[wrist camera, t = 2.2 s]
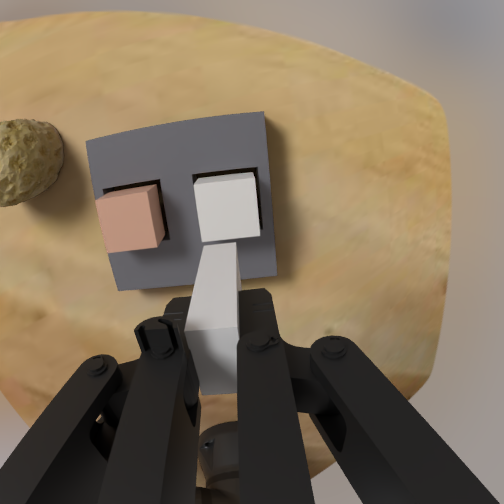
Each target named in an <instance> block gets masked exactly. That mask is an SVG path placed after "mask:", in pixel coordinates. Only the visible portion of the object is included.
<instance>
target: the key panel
mask: <svg viewBox="0 0 504 504" xmlns="http://www.w3.org/2000/svg"><path fill="white" fill-rule="evenodd" d="M86 148H87V155H88V161H89V168H90V173H91V179H92V185H93V190H94V195H95V200H97V199H99V198H100V197H102V196H104V195H105V194H107V193H109V192H114V187H116V186H121V185H127V184H132V183H138V182H144V181H150V180H156V179H160V182H161V189H162V195H163V201H164V207H165V213H166V219H167V224H168V230H169V231H165V236H164V237H163V239H162V241H161V242H160V244H159V246H158V247H155V248H147V249H139V250H130V251H122V252H114V253H108V256H109V260H110V264H111V267H112V271H113V275H114V278H115V282H116V285H117V288H118V291H124V290H136V289H148V288H159V287H170V286H181V285H192V284H195V280H196V276H197V272H198V268H199V264H200V259H201V255H202V251H203V247H204V246H206V245H215V244H225V243H234V242H236V246H237V255H238V263H239V271H240V279H251V278H260V277H269V276H277V264H276V250H275V236H274V223H273V210H272V198H271V185H270V174H269V162H268V151H267V140H266V129H265V118H264V111H263V112H251V113H240V114H230V115H222V116H213V117H206V118H198V119H191V120H185V121H179V122H172V123H167V124H161V125H155V126H150V127H145V128H140V129H135V130H130V131H126V132H121V133H117V134H112V135H108V136H104V137H100V138H96V139H92V140H88V141H86ZM249 167H256V172H257V183H258V194H259V205H260V216H261V221H259V228H260V236H254V237H245V238H235V239H226V240H217V241H208V242H202V239H201V233H200V226H199V220H198V213H197V206H196V199H195V192H194V183H195V182H196V181H197V177H196V174H198V173H205V172H213V171H222V170H231V169H240V168H249Z"/></svg>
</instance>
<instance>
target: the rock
mask: <svg viewBox="0 0 504 504" xmlns="http://www.w3.org/2000/svg"><path fill="white" fill-rule="evenodd" d="M63 160H64V155H63V143H62V141H61V139H60V136H59V133H58V131H56V129H55V128H54V127H53V126H52V125H50V124H49V123H48V122H39V121H35V120H34V119H32V120H27V119H16V120H11V121H3V122H0V207H7V206H13V205H17V204H19V203H21V202H24V201H26V200H28V199H31V198H33V197H35V196H37V195H39V194H40V193H41V192H43V191H45V190H47V189H48V187H49V186H50V185H52V184H53V183H54V182H55V181H56V179H57V177H58V173H59V170H60V168H61V167H62V165H63Z"/></svg>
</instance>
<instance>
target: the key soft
mask: <svg viewBox="0 0 504 504" xmlns="http://www.w3.org/2000/svg"><path fill="white" fill-rule="evenodd" d="M194 192H195V199H196V206H197V213H198V220H199V226H200V233H201V239H202V242H208V241H217V240H226V239H235V238H245V237H254V236H260V228H259V217H258V206H257V195H256V185H255V177H254V174H253V172H248V173H238V174H229V175H221V176H212V177H204V178H198V179H197V181H196V182H195V183H194Z"/></svg>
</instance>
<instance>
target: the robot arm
mask: <svg viewBox="0 0 504 504" xmlns="http://www.w3.org/2000/svg"><path fill="white" fill-rule="evenodd" d="M134 332H135V335H136V338H137V341H138V344H139V346H140V349H141V352H142V353H141V356H140V358H139V359H137V360H134V361H130V362H126V363H122V364H118V363H117V361H116V360H115V358H114V357H112V356H110V355H103V354H101V355H96V356H93V357H91V358H89V359H87V360H86V361H85V362H83V363H82V364H81V365H80V367H79V368H78V369H77V370H76V371H75V373H74V374H73V375H72V376H71V378H70V379H69V380H68V381H67V382H66V384H65V385H64V386H63V387H62V389H61V390H60V391H59V392H58V394H57V395H56V396H55V397H54V399H53V400H52V401H51V402H50V404H49V405H48V406H47V407H46V409H45V410H44V411H43V412H42V414H41V415H40V416H39V418H38V419H37V420H36V422H35V423H34V424H33V425H32V427H31V428H30V429H29V431H28V432H27V433H26V435H25V436H24V437H23V439H22V440H21V441H20V443H19V444H18V445H17V447H16V448H15V450H14V451H13V452H12V454H11V455H10V456H9V458H8V459H7V461H6V462H5V463H4V465H3V466H2V467H1V469H0V504H315V502H314V496H313V491H312V486H311V480H310V475H309V470H308V465H307V459H306V454H305V449H304V444H303V439H302V434H301V429H300V424H299V419H298V414H297V412H301V413H309V416H310V418H311V419H312V421H313V423H314V424H315V426H316V428H317V430H318V431H319V433H320V435H321V436H322V438H323V440H324V441H325V443H326V445H327V446H328V448H329V449H330V451H331V453H332V454H333V456H334V458H335V459H336V461H337V463H338V464H339V466H340V467H341V469H342V470H343V472H344V474H345V476H346V477H347V479H348V480H349V482H350V484H351V485H352V487H353V489H354V490H355V492H356V493H357V495H358V496H359V498H360V500H361V501H362V503H363V504H499V502H498V501H497V500H496V499H495V498H494V497H493V496H492V494H491V493H490V492H489V491H488V490H487V489H486V487H485V486H484V485H483V484H482V483H481V482H480V481H479V479H478V478H477V477H476V476H475V475H474V474H473V473H472V472H471V471H470V469H469V468H468V467H467V466H466V465H465V464H464V463H463V462H462V460H461V459H460V458H459V457H458V456H457V455H456V454H455V452H454V451H453V450H452V449H451V448H450V447H449V446H448V445H447V444H446V443H445V441H444V440H443V439H442V438H441V437H440V436H439V435H438V434H437V432H436V431H435V430H434V429H433V428H432V427H431V426H430V425H429V424H428V423H427V422H426V420H425V419H424V418H423V417H422V416H421V415H420V414H419V413H418V412H417V411H416V409H415V408H414V407H413V406H412V405H411V404H410V403H409V402H408V401H407V399H406V398H405V397H404V396H403V395H402V394H401V393H400V392H399V391H398V390H397V389H396V387H395V386H394V385H393V384H392V383H391V382H390V381H389V380H388V379H387V378H386V377H385V376H384V374H383V373H382V372H381V371H380V370H379V369H378V368H377V367H376V366H375V365H374V364H373V362H372V361H371V360H370V359H369V358H368V357H367V356H366V355H365V354H364V353H363V352H362V351H361V350H360V348H359V347H358V346H357V345H356V344H355V343H354V342H352V341H351V340H350V339H348V338H345V337H342V336H326V337H322V338H320V339H318V340H316V341H315V342H314V343H313V344H312V345H311V348H303V347H296V346H293V345H290V344H288V343H286V342H285V341H284V340H283V339H282V338H281V337H280V334H279V330H278V325H277V320H276V315H275V310H274V306H273V301H272V296H271V294H270V293H269V292H268V291H267V290H266V289H265V288H260V289H251V290H242V287H241V279H240V271H239V263H238V255H237V246H236V242H234V243H225V244H215V245H206V246H204V247H203V251H202V255H201V259H200V264H199V268H198V272H197V276H196V280H195V285H194V289H193V293H192V296H189V297H177V298H173V299H172V300H171V301H170V302H169V303H168V304H167V305H166V308H165V311H164V315H163V316H159V317H153V318H150V319H147V320H145V321H143V322H141V323H140V324H139V325H137V327H136V328H135V329H134ZM199 386H200V390H201V393H202V395H216V394H231V393H237V408H238V421H235V422H227V423H222V424H218V425H215V426H213V427H211V428H209V429H207V430H205V431H204V432H203V433H202V434H201V435H200V436H199V430H200V417H201V403H200V400H199V397H198V393H199ZM100 414H101V416H102V417H101V418H100V419H99V420H98V421H97V422H96V419H97V418H98V416H99V415H100ZM197 458H199V461H200V464H201V467H202V470H203V473H204V476H205V478H206V488H203V487H197V486H196V473H197Z"/></svg>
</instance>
